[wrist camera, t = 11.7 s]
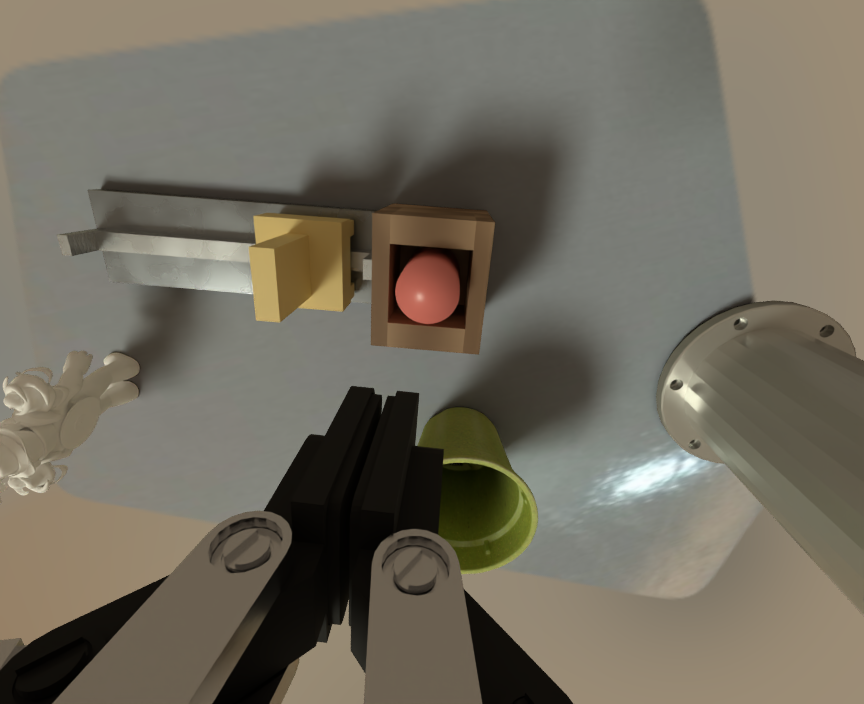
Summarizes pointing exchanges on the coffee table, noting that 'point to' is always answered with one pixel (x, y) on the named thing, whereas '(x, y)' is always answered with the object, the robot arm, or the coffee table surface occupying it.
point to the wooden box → (391, 250)
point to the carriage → (300, 264)
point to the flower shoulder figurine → (57, 416)
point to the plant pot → (479, 492)
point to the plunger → (429, 285)
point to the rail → (197, 239)
